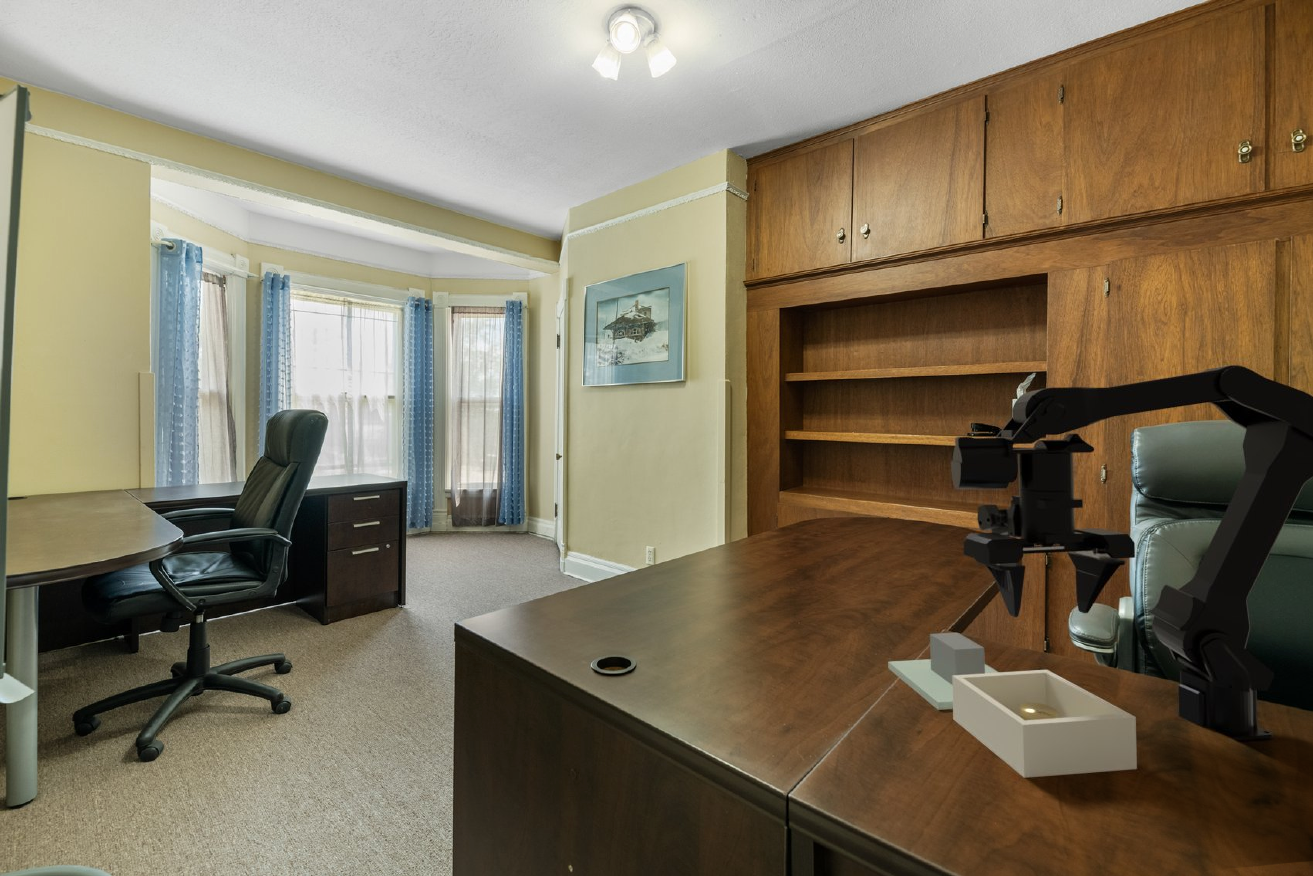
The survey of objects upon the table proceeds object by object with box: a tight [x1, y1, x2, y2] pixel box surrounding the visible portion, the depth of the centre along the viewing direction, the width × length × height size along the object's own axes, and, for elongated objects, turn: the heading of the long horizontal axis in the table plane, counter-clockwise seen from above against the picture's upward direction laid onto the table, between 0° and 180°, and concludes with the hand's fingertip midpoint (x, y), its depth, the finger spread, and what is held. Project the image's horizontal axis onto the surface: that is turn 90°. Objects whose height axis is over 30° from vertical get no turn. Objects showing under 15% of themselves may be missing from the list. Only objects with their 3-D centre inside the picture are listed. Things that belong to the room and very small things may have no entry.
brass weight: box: [1020, 702, 1058, 720], centre depth 66 cm, size 4×4×3 cm
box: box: [952, 669, 1138, 779], centre depth 64 cm, size 12×12×6 cm
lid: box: [887, 632, 1000, 711], centre depth 79 cm, size 13×13×7 cm
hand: (1048, 614), depth 73 cm, fingers open, 9 cm apart
